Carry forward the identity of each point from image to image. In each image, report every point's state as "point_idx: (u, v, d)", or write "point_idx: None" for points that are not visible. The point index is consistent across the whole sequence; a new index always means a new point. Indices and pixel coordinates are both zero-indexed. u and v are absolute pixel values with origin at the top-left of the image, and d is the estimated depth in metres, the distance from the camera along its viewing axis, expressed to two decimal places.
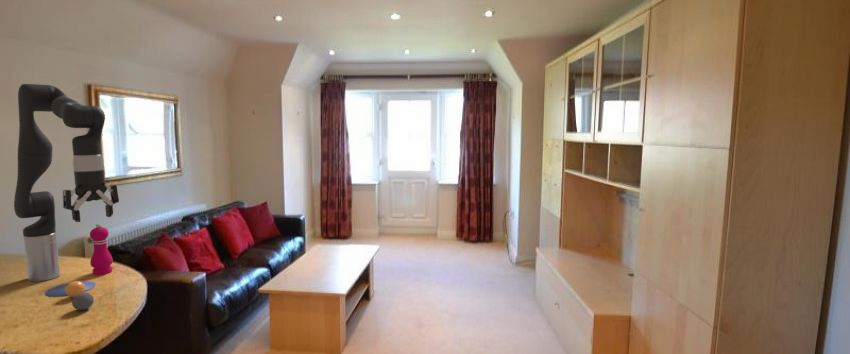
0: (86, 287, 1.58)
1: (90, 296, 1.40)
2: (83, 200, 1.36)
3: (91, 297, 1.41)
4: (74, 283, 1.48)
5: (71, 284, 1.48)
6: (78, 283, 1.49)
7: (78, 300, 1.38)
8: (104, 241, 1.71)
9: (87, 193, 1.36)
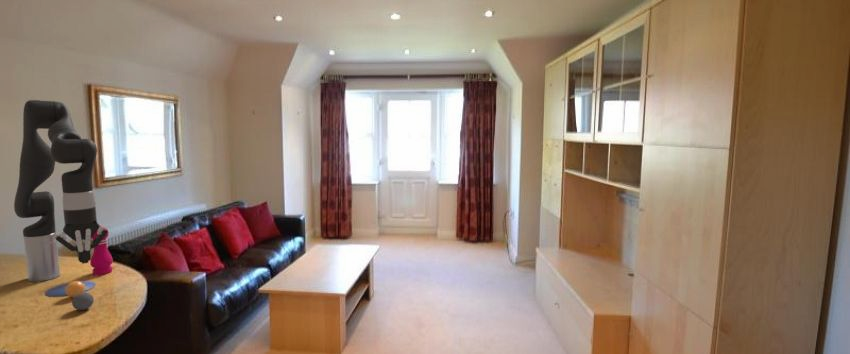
0: (86, 287, 1.58)
1: (90, 296, 1.40)
2: (79, 240, 1.29)
3: (91, 297, 1.41)
4: (74, 283, 1.48)
5: (71, 284, 1.48)
6: (78, 283, 1.49)
7: (78, 300, 1.38)
8: (104, 241, 1.71)
9: (76, 233, 1.28)
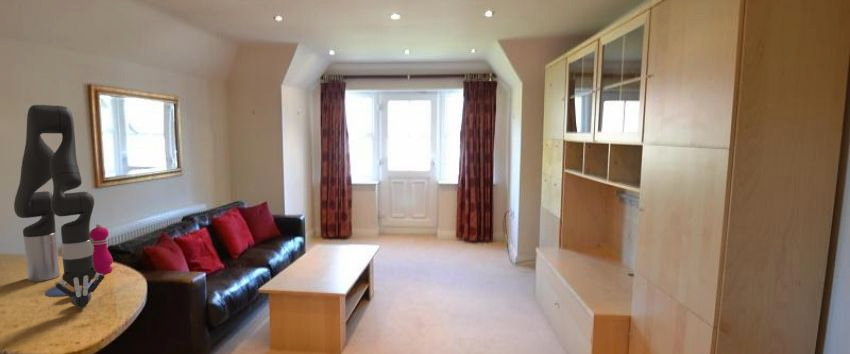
0: None
1: None
2: (77, 286, 1.38)
3: None
4: None
5: None
6: None
7: (74, 291, 1.42)
8: (104, 241, 1.71)
9: (75, 280, 1.37)
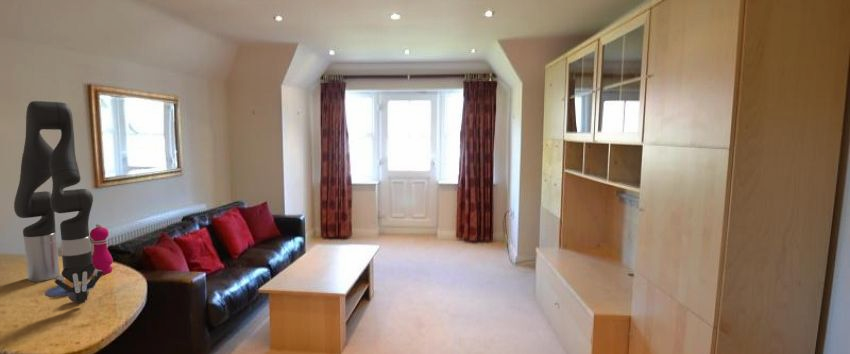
0: None
1: None
2: (76, 282, 1.40)
3: None
4: None
5: None
6: None
7: None
8: (104, 241, 1.71)
9: (74, 276, 1.39)
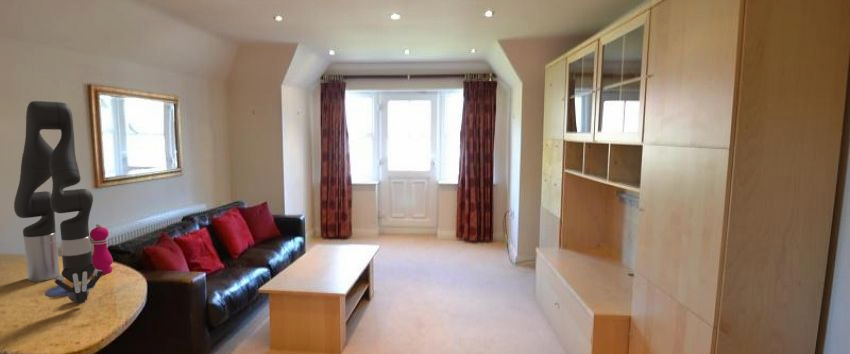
0: None
1: None
2: (76, 282, 1.40)
3: None
4: None
5: None
6: None
7: None
8: (104, 241, 1.71)
9: (74, 276, 1.39)
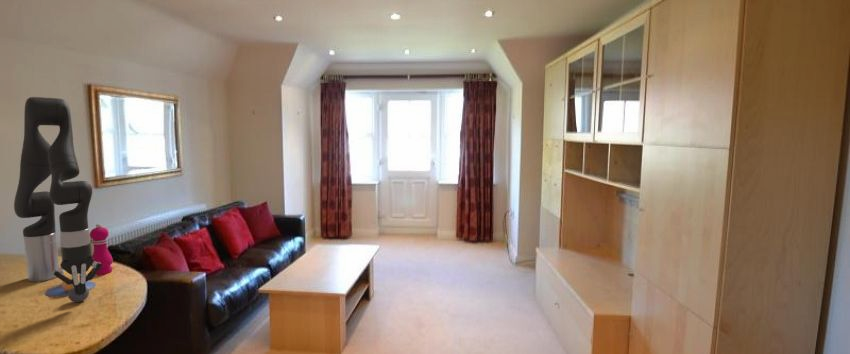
0: None
1: None
2: (75, 274, 1.39)
3: None
4: None
5: None
6: None
7: None
8: (104, 241, 1.71)
9: (73, 268, 1.38)
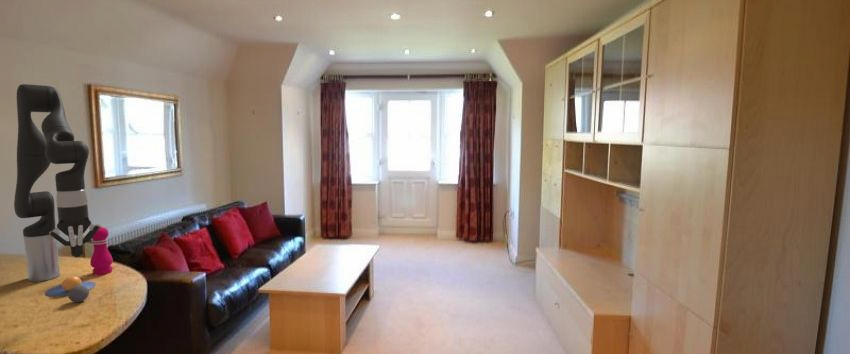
0: None
1: None
2: (72, 236, 1.38)
3: None
4: None
5: None
6: None
7: None
8: (104, 241, 1.71)
9: (69, 229, 1.37)
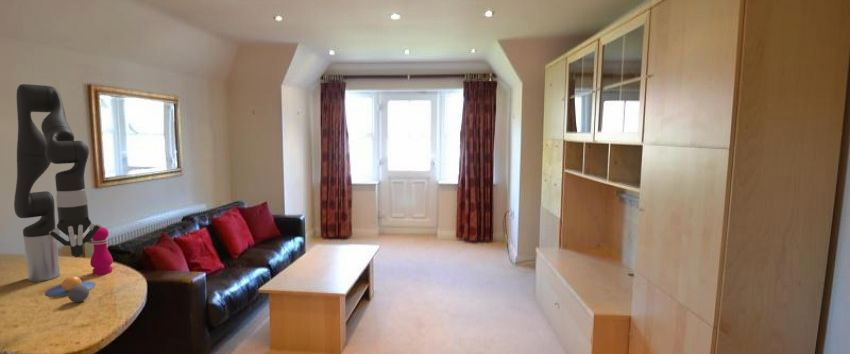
0: None
1: None
2: (72, 235, 1.37)
3: None
4: None
5: None
6: None
7: None
8: (104, 241, 1.71)
9: (69, 229, 1.37)
